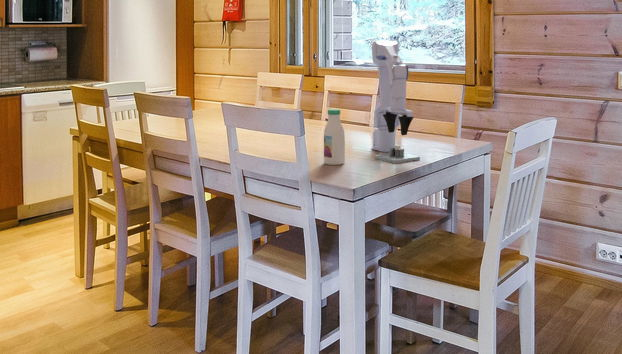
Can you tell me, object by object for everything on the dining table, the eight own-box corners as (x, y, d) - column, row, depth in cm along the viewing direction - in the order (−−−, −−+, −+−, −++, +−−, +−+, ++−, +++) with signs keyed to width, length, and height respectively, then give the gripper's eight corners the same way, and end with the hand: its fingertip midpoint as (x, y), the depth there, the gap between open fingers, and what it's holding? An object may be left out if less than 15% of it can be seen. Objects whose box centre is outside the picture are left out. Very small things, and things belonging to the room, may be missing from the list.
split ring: (386, 155, 246) (387, 147, 245) (398, 154, 248) (398, 146, 247) (395, 157, 241) (395, 150, 240) (406, 156, 244) (406, 148, 243)
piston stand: (375, 158, 247) (375, 144, 246) (399, 154, 253) (399, 141, 252) (394, 163, 237) (394, 149, 236) (419, 159, 243) (420, 146, 242)
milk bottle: (343, 161, 243) (343, 108, 238) (345, 165, 235) (345, 110, 231) (323, 161, 242) (322, 108, 238) (324, 165, 235) (324, 111, 231)
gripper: (377, 96, 244) (377, 132, 247) (402, 99, 232) (401, 137, 235) (392, 95, 247) (392, 130, 250) (417, 98, 235) (416, 135, 238)
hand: (397, 133), depth 243 cm, fingers open, 7 cm apart
